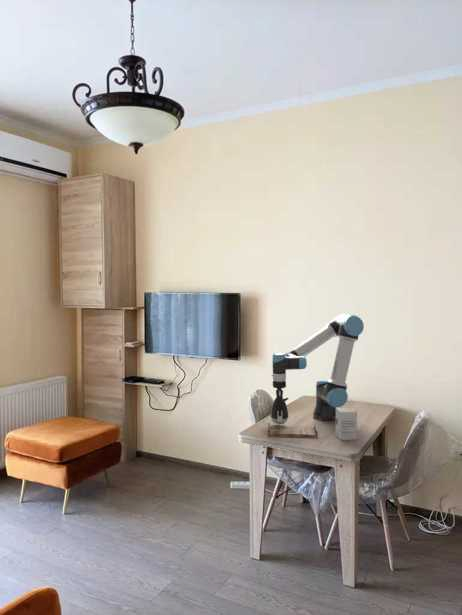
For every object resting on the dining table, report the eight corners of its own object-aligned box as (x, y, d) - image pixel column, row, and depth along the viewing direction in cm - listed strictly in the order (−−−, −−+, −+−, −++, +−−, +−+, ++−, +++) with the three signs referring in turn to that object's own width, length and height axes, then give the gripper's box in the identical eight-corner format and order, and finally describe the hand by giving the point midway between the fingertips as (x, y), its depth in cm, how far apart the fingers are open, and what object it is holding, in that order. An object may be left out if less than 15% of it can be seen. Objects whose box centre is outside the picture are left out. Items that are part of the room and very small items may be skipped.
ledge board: (315, 431, 266) (315, 424, 265) (317, 437, 254) (317, 431, 253) (268, 429, 268) (268, 423, 267) (268, 436, 256) (268, 429, 255)
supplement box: (334, 435, 259) (335, 407, 258) (351, 434, 259) (351, 407, 259) (340, 440, 250) (340, 411, 249) (356, 440, 250) (357, 411, 250)
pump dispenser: (290, 424, 271) (290, 398, 270) (273, 425, 269) (272, 399, 269) (286, 419, 281) (286, 394, 280) (269, 420, 279) (268, 395, 279)
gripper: (272, 376, 286) (273, 413, 287) (272, 384, 263) (273, 424, 264) (285, 376, 285) (285, 413, 286) (286, 384, 262) (287, 424, 263)
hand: (279, 418), depth 275 cm, fingers closed on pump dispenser, 10 cm apart
